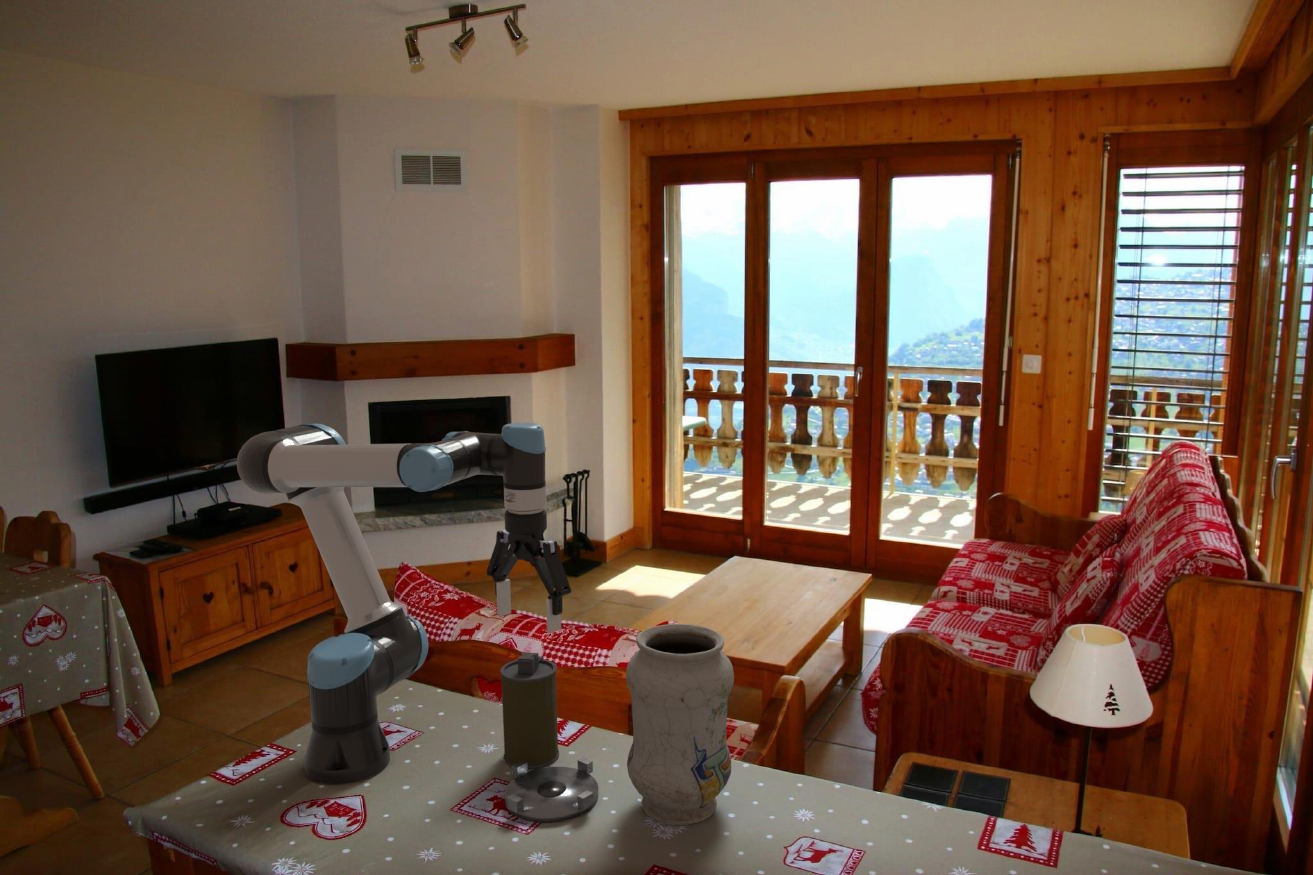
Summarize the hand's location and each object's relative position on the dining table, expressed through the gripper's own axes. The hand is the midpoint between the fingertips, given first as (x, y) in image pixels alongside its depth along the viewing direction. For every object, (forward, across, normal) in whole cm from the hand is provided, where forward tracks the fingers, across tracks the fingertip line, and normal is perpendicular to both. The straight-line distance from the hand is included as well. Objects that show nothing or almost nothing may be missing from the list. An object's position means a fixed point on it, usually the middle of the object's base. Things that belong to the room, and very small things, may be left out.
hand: (528, 622), depth 175 cm
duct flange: (+26, +13, -7) cm, 30 cm away
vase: (+26, +32, +5) cm, 42 cm away
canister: (+27, -1, +1) cm, 27 cm away
